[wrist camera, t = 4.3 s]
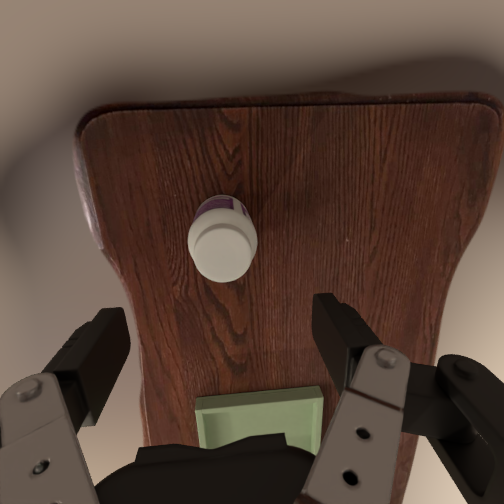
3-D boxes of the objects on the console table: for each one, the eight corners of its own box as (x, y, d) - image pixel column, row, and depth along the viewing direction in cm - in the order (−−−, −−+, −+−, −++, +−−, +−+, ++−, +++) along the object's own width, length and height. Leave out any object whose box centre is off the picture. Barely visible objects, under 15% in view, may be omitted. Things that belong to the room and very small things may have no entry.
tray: (206, 470, 40) (205, 485, 38) (196, 397, 36) (195, 410, 34) (314, 458, 41) (318, 472, 40) (319, 385, 37) (323, 397, 35)
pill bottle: (188, 235, 28) (170, 277, 19) (206, 185, 27) (197, 204, 18) (238, 254, 30) (244, 301, 21) (258, 207, 28) (274, 235, 19)
